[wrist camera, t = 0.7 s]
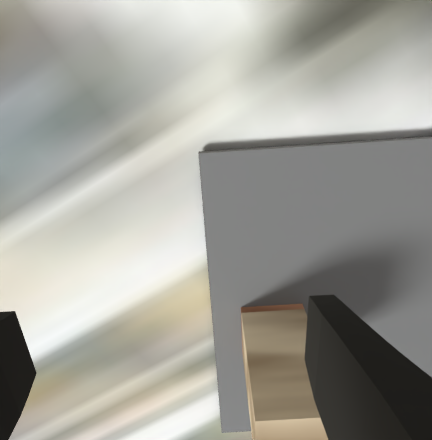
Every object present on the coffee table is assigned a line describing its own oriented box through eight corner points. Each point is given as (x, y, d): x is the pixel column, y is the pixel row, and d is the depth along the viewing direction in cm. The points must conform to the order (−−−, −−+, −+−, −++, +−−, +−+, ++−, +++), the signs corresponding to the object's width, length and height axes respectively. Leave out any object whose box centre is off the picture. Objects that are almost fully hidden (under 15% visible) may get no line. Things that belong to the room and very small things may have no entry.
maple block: (300, 350, 22) (338, 472, 16) (242, 354, 22) (256, 477, 16) (302, 303, 21) (345, 416, 14) (240, 307, 21) (255, 421, 14)
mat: (473, 412, 25) (477, 417, 25) (221, 427, 26) (221, 432, 25) (569, 127, 17) (577, 128, 17) (198, 151, 17) (198, 153, 17)
